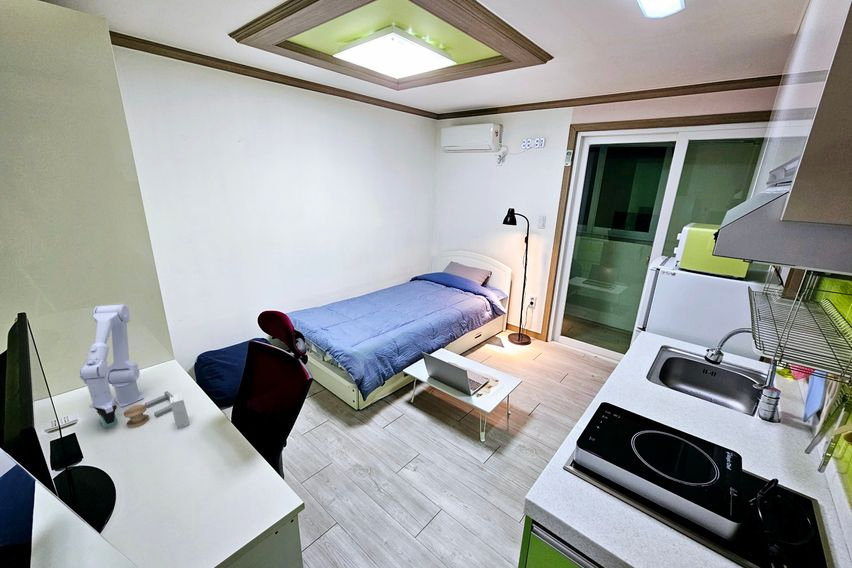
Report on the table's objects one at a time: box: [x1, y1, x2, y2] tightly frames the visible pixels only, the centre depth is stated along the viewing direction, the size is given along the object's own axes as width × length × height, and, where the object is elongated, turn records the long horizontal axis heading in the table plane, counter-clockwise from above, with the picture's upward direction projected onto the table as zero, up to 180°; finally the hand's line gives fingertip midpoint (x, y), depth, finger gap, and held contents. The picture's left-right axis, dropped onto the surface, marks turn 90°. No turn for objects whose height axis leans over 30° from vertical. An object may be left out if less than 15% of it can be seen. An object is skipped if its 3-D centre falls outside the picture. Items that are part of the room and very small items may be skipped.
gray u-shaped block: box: [144, 390, 174, 418], centre depth 148 cm, size 12×9×3 cm
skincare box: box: [169, 392, 190, 429], centre depth 138 cm, size 6×4×12 cm
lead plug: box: [98, 414, 118, 429], centre depth 137 cm, size 4×4×7 cm
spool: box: [123, 404, 150, 428], centre depth 139 cm, size 7×7×6 cm
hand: (108, 420), depth 138 cm, fingers closed on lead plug, 4 cm apart
